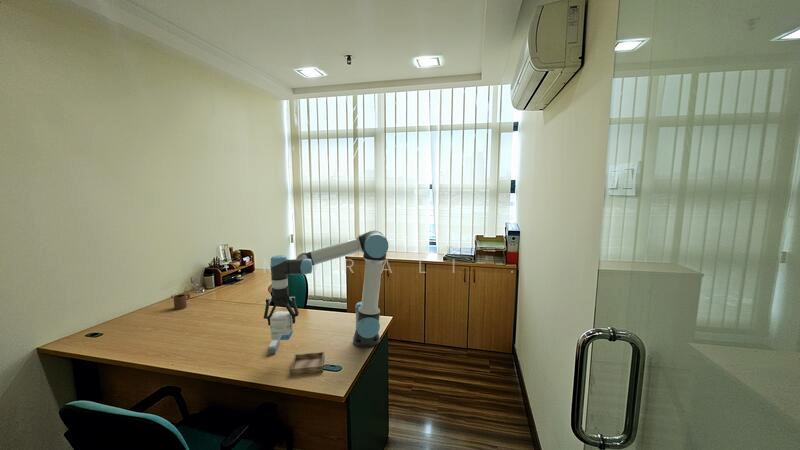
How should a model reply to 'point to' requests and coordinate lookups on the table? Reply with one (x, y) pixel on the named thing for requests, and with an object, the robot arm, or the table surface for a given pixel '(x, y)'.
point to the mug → (181, 301)
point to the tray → (307, 363)
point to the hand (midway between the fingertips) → (282, 330)
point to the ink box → (281, 325)
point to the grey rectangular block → (273, 346)
